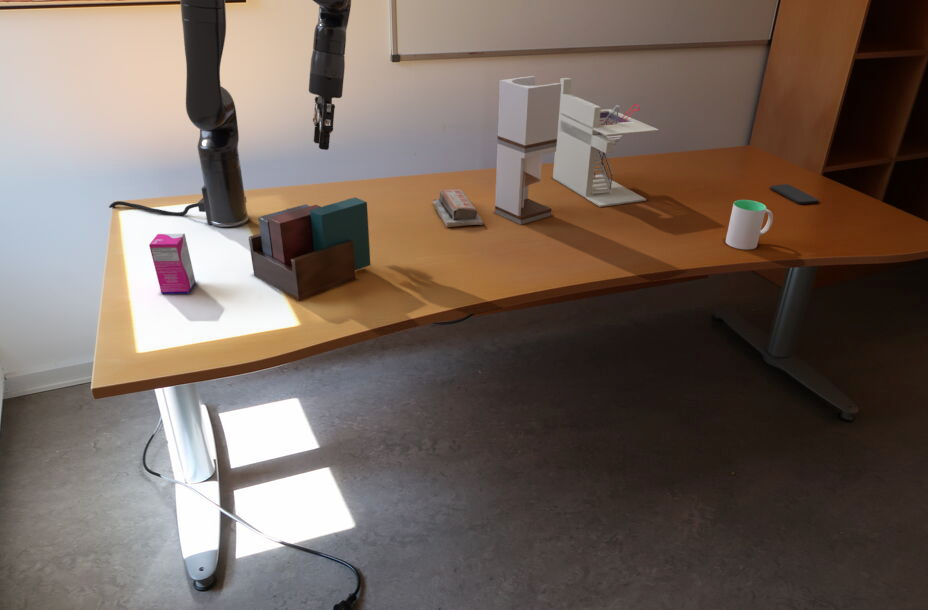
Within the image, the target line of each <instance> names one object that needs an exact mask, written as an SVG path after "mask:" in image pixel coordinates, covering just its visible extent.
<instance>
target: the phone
mask: <svg viewBox="0 0 928 610" xmlns="http://www.w3.org/2000/svg"><path fill="white" fill-rule="evenodd" d="M770 189H771V190H773V191H774V192H776V193H778V194H780V195H781V196H783V197H785V198H787V199H789V200H791V201H793V202H795V203H797V204H799V205H806V204H816V203H819V199H818V198H817V197H814V196H812V195H810V194H809V193H806V192H805V191H803V190H801V189H799V188H797V187H795V186H793V185H791V184H787V183H784V184H783V183H782V184H774V185H770Z"/></svg>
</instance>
